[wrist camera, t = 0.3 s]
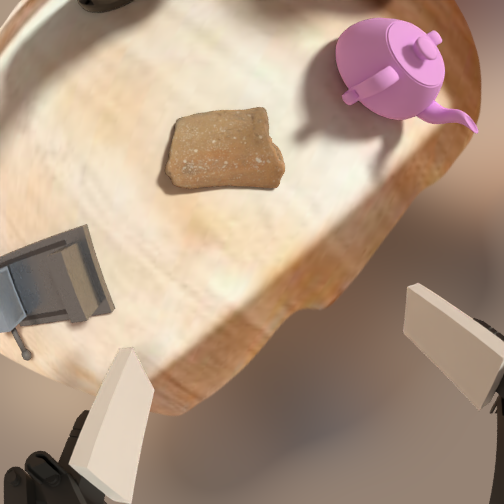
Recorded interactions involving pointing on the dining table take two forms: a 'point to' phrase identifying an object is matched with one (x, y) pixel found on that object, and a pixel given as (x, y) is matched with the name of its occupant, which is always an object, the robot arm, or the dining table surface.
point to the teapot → (395, 71)
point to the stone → (224, 150)
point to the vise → (59, 278)
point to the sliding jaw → (11, 310)
